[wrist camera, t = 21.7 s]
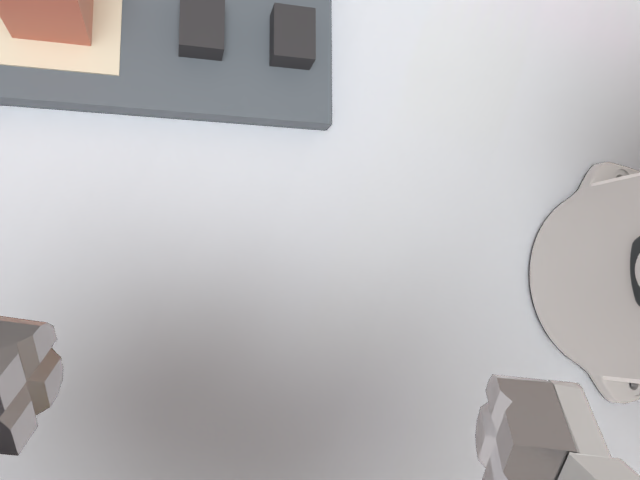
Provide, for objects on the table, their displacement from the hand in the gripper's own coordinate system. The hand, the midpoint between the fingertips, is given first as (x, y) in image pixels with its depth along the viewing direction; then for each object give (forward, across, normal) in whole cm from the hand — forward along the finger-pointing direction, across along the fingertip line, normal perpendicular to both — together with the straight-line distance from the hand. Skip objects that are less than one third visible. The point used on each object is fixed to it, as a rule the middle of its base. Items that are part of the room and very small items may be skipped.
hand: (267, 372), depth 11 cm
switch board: (+33, +13, -1) cm, 36 cm away
